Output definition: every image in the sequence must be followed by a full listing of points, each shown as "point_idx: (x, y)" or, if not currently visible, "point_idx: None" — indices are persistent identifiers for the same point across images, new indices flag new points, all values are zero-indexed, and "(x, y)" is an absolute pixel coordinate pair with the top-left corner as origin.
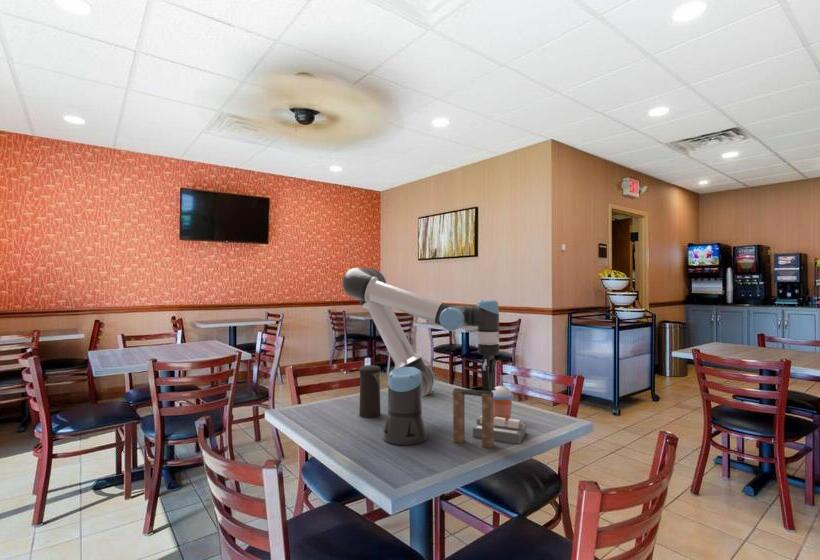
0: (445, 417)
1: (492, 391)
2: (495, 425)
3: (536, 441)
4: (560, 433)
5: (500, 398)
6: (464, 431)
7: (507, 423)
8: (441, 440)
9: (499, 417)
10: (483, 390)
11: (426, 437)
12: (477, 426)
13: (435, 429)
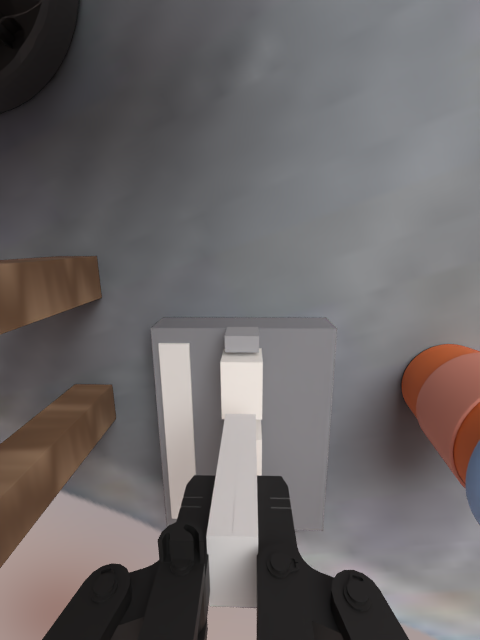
0: (425, 44)
1: (231, 606)
2: None
3: None
4: None
5: (471, 493)
6: (77, 305)
7: None
8: (40, 195)
9: (257, 461)
10: (98, 574)
11: (3, 107)
12: (177, 346)
13: (174, 88)
